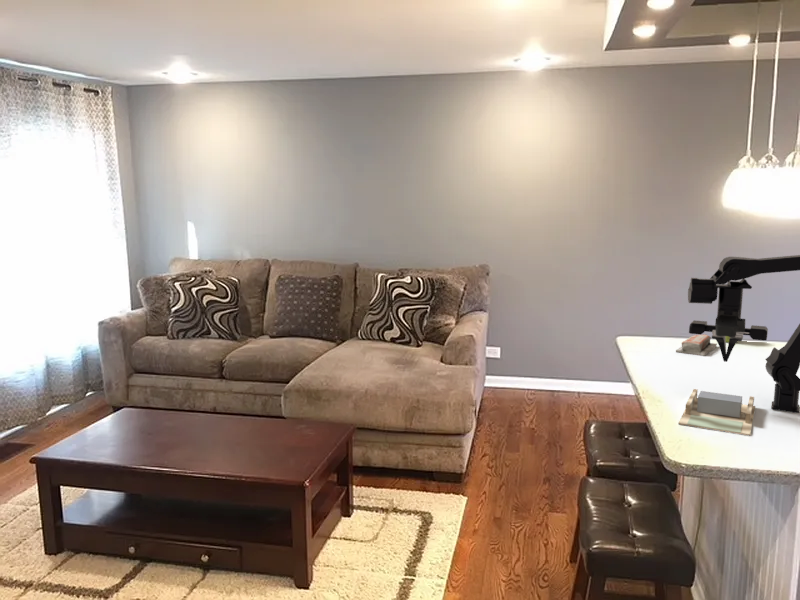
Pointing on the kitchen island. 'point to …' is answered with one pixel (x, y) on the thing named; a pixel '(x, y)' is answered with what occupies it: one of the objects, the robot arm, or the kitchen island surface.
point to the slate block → (719, 404)
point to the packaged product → (697, 345)
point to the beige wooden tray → (718, 417)
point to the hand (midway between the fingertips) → (725, 361)
